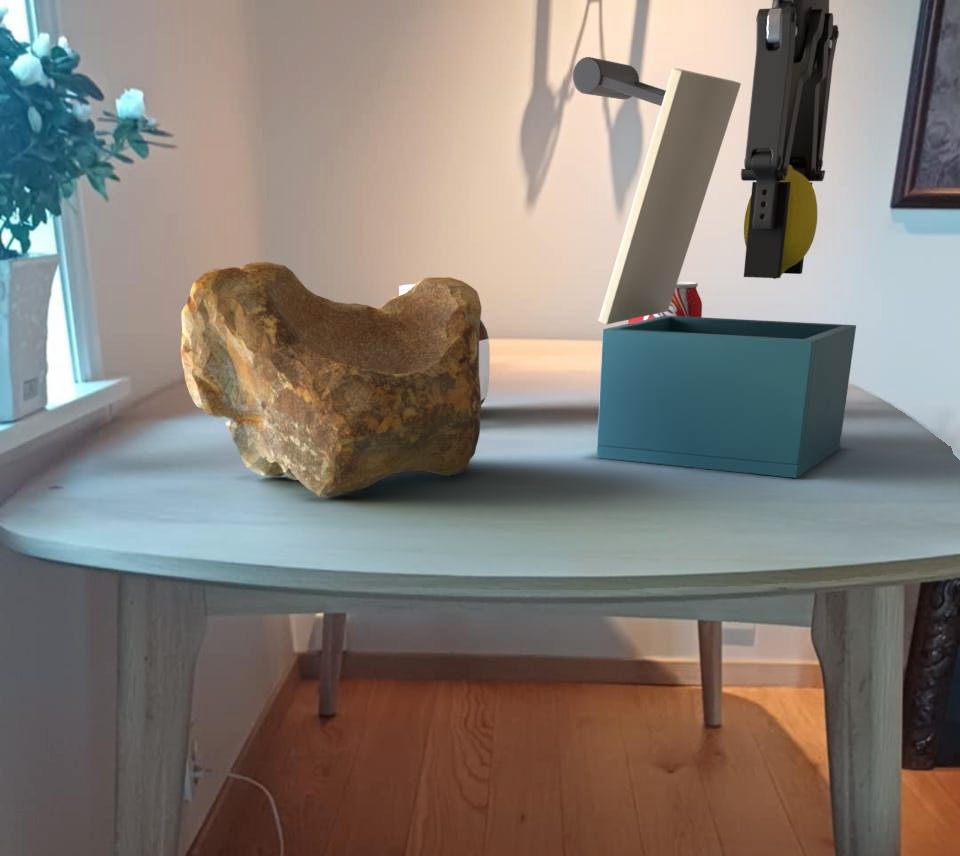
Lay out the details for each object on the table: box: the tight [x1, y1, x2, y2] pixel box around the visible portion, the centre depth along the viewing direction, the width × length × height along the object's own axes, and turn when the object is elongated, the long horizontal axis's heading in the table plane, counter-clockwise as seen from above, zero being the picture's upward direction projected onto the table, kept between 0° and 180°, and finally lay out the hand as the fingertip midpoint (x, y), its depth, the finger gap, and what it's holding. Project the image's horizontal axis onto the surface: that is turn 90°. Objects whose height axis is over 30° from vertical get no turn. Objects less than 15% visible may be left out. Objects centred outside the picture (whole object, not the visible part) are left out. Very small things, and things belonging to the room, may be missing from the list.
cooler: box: [596, 316, 857, 479], centre depth 105 cm, size 17×14×10 cm
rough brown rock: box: [180, 261, 482, 499], centre depth 92 cm, size 23×17×15 cm
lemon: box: [743, 165, 818, 280], centre depth 97 cm, size 6×6×8 cm
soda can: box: [627, 280, 703, 324], centre depth 122 cm, size 7×7×12 cm
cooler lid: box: [572, 56, 742, 325], centre depth 102 cm, size 18×14×10 cm
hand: (773, 274), depth 99 cm, fingers closed on lemon, 6 cm apart
